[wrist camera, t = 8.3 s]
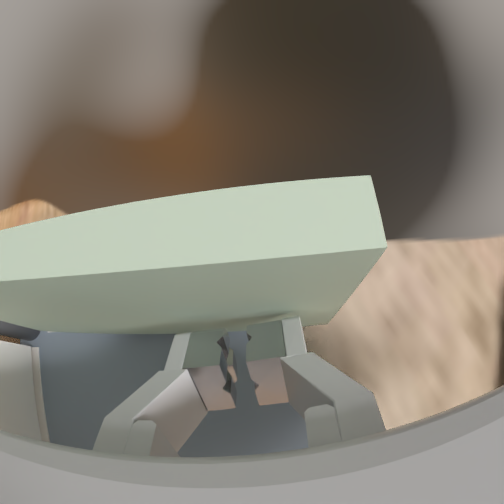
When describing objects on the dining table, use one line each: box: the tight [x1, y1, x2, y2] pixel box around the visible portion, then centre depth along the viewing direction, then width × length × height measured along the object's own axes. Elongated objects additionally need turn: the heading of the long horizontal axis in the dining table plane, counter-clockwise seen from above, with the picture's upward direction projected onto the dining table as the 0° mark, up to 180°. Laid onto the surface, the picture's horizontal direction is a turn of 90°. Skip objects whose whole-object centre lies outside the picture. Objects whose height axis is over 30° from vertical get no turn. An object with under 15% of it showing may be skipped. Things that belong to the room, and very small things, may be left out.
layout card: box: [20, 331, 308, 457], centre depth 13 cm, size 11×16×1 cm
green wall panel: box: [0, 176, 387, 334], centre depth 9 cm, size 15×1×9 cm, turn 93°
